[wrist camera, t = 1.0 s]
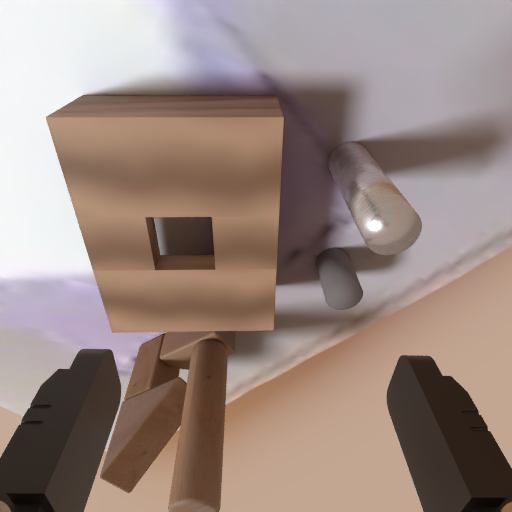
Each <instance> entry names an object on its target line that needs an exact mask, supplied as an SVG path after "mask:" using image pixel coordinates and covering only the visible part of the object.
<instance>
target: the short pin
mask: <svg viewBox="0 0 512 512" xmlns="http://www.w3.org/2000/svg"><path fill="white" fill-rule="evenodd" d="M316 266H317V269H318V273H319V277H320V281H321V285H322V288H323V292H324V296H325V300H326V302H327V304H328V305H329V306H330V307H332V308H334V309H339V310H343V309H349V308H351V307H353V306H355V305H356V304H358V303H359V302H360V300H361V299H362V296H363V290H362V288H361V285H360V283H359V280H358V278H357V275H356V273H355V270H354V268H353V265H352V263H351V260H350V258H349V255H348V254H347V252H346V251H344V250H343V249H340V248H330V249H327V250H325V251H323V252H322V253H321V254H320V255H319V256H318V258H317V261H316Z"/></svg>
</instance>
